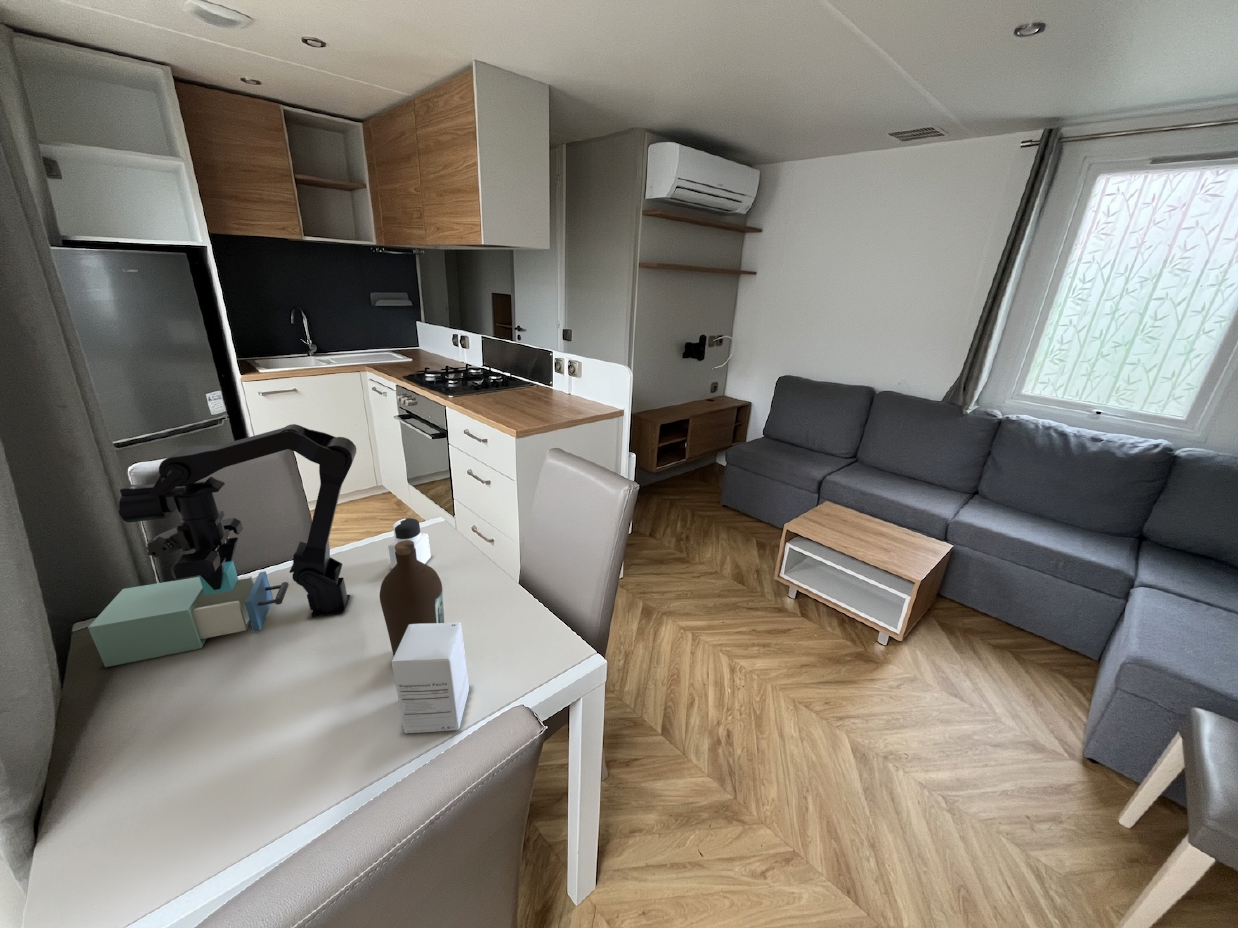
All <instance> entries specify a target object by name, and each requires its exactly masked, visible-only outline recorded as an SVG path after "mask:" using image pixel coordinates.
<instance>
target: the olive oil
mask: <svg viewBox="0 0 1238 928" xmlns="http://www.w3.org/2000/svg"><path fill="white" fill-rule="evenodd" d="M395 550H396V552H395V555H396V561H397V564H396V565H395V567H394V568H393V569H392V568H391V569H390V571H389V572H388V573H387V574H386V575H385V577H384V578H383V580H382V582H381V584H380V589H379V603H380V606H381V610H382V614H383V618H384V622H385V627H386V629H387V635H388V638H389V642H390V647H391V651H392V656H393V658H394V655H395V653H396V651H397V649H398V647H399V645H400V642H401V640H402V638H403V636H404V634H405V632H406V630H407V627H408V625H409V624H429V623H431V624H432V623H445V612H444V609H445V608H444V593H443V591H444V590H443V583H442V580H441V578H440V576H439V574H438V573H437V571H436V570H435V569H434V568H433V567H431V566H429V565H428V564H427V563H425V564H424V563H422V562H420V561H418V560H417V557H416V549H415V548H414V542H413V541H410V540H404V541H401V542H398V543H397V544H396V545H395Z"/></svg>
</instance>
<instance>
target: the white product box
mask: <svg viewBox="0 0 1238 928" xmlns="http://www.w3.org/2000/svg"><path fill="white" fill-rule="evenodd" d="M466 659H467V658H466V652H465V643H464V636H463V627H462V622H460V621H456V622H455V621H453V622H444V623H432V624H431V623H429V624H409V625H408V627H407V630H406V632H405V634H404V636H403V638H402V640H401V642H400V645H399V647H398V649H397V651H396V653H395V655H394V657H393V658H392V660H391V668H392V673H393V679H394V683H395V688H396V694H397V700H398V704H399V705H398V706H399V711H400V716H401V721H402V727H403V732H404V734H416V733H417V734H418V733H419V734H420V733H435V732H436V733H437V732H449V731H450V732H451V731H459V730H460V727H461V724H462V719H463V715H464V711H465V708H466V703H467V700H468V695H469V691H470V684H469V676H468V668H467V660H466Z"/></svg>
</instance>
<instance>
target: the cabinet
mask: <svg viewBox="0 0 1238 928" xmlns="http://www.w3.org/2000/svg"><path fill="white" fill-rule="evenodd" d="M203 591H204V590H203V587H202V584H201V581H200V578H199V576H194V577H188V578H182V579H175V580H170V581H163V582H158V583H151V584H146V585H139V586H132V587H126V588H122V589H121V591H119V593H118V594H117V595H116V596H115V597H114V598H113V599H112V600H111V602H110V603H109V604H107V606H106V607H105V608H104V609H103V610H102V611H101V612H100V614H98V616H97V617H96V618H95V619H94V620H93V621H92V622H91V623H90V624H89V626H88V627H87V629H88V631H89V633H90V636H91V638H92V641H93V643H94V645H95V647H96V651H97V652H98V654H99V656H100V659H101V661H102V663H103V665H104V668H109V667H114V666H119V665H124V664H130V663H134V662H135V663H136V662H139V661H143V660H149V659H154V658H155V659H156V658H159V657H164V656H171V655H176V654H180V653H184V652H189V651H194V650H199V649H202V648H203V646H204V644H205V642H207V639H208V638H204V639H200V636H199V633H198V630H197V627H196V624H195V621H194V619H193V616H192V613H191V610H192V608H193V607H194V605H195V603H196V602H197V600H198V599H199V597H200V596H201V594H202V593H203Z"/></svg>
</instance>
